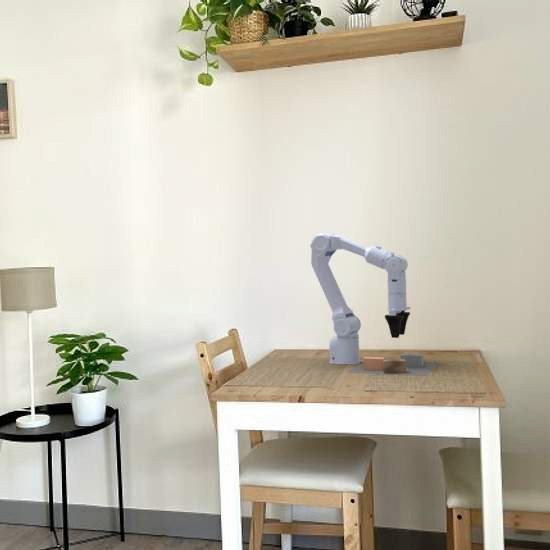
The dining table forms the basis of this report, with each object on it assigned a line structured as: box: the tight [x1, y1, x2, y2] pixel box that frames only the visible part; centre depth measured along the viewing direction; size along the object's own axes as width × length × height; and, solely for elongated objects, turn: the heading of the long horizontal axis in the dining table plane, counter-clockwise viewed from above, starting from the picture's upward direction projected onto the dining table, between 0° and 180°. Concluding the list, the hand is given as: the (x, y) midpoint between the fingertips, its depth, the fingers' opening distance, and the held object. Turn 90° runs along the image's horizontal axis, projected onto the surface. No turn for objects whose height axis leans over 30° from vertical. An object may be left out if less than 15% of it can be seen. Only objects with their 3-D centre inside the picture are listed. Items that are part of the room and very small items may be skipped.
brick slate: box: [400, 353, 425, 367], centre depth 194 cm, size 6×3×4 cm, turn 66°
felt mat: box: [346, 362, 439, 377], centre depth 193 cm, size 24×20×1 cm
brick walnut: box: [383, 358, 406, 375], centre depth 185 cm, size 6×3×4 cm, turn 86°
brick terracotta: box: [361, 356, 386, 371], centre depth 191 cm, size 6×3×4 cm, turn 66°
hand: (398, 336), depth 199 cm, fingers open, 7 cm apart
